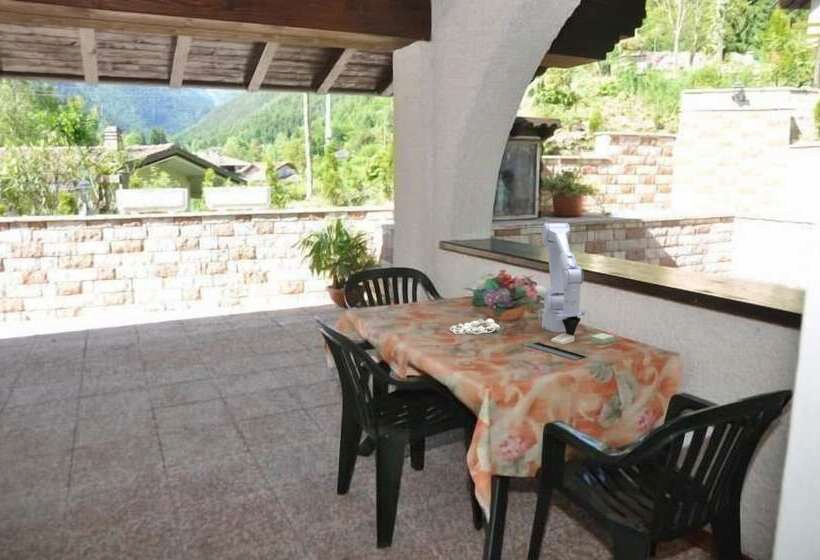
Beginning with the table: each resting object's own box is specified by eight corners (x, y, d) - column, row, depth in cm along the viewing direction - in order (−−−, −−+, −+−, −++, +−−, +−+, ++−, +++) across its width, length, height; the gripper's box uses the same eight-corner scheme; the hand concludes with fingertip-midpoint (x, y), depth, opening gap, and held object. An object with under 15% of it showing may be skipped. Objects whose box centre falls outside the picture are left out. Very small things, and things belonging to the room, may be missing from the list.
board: (555, 340, 226) (556, 336, 226) (579, 334, 234) (579, 330, 234) (600, 352, 210) (600, 348, 210) (623, 345, 218) (623, 341, 218)
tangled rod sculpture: (455, 340, 231) (455, 330, 230) (446, 328, 245) (446, 319, 244) (502, 337, 234) (503, 327, 233) (492, 325, 248) (492, 315, 247)
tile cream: (551, 344, 219) (551, 339, 218) (563, 338, 223) (563, 333, 222) (562, 347, 215) (562, 341, 215) (574, 340, 219) (574, 335, 218)
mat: (526, 346, 218) (526, 345, 218) (552, 339, 226) (552, 338, 226) (575, 360, 201) (575, 359, 200) (600, 353, 209) (600, 352, 209)
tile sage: (590, 341, 218) (591, 336, 218) (602, 338, 223) (602, 333, 222) (602, 344, 214) (602, 339, 214) (613, 341, 219) (614, 335, 218)
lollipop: (535, 321, 255) (536, 287, 252) (529, 318, 260) (530, 285, 258) (548, 320, 256) (550, 286, 254) (542, 317, 262) (543, 284, 259)
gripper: (567, 305, 211) (566, 341, 214) (592, 300, 220) (591, 335, 222) (552, 301, 217) (550, 337, 219) (577, 297, 226) (575, 331, 228)
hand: (570, 336), depth 221 cm, fingers closed
